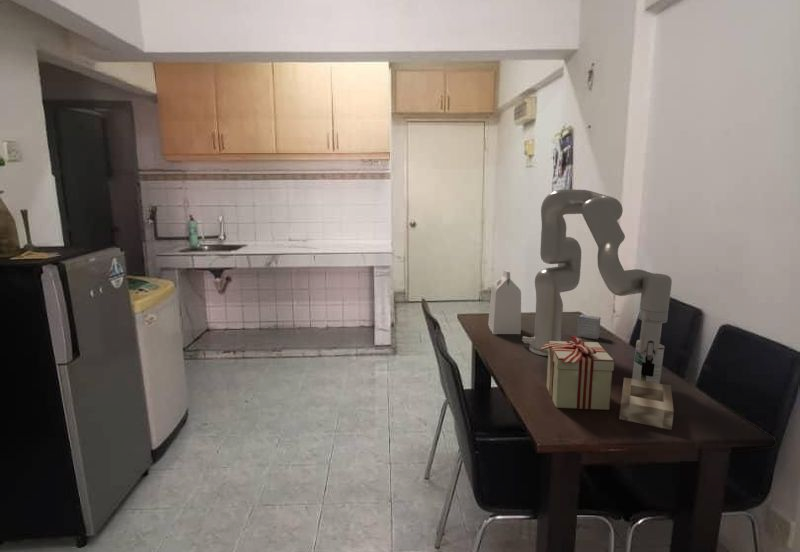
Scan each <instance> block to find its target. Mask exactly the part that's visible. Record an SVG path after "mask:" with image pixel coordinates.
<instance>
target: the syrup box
mask: <svg viewBox="0 0 800 552" xmlns="http://www.w3.org/2000/svg"><path fill="white" fill-rule="evenodd" d="M639 343H640V339H637V340H636V344H635V350H634V351H635V352H634V359H633V360H634V361H633V366H632V367H633V368H632V377H631V379H636V380H642V381H648V382H654V383H659V384H661V377H662V375H661V374H662V368H663V361H664V353H665V345H663V344H661V343H659V348H658V353H657V355H655V356H654V364H655V365H654V374H653V377H651V376H645V375H641V370H642V362H643V360H644V353H642V352H641V353H640V352H639ZM646 352H648V347H647V348H646ZM652 353H653V352H652ZM646 356H647V355H646Z"/></svg>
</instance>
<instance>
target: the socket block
mask: <svg viewBox="0 0 800 552" xmlns="http://www.w3.org/2000/svg"><path fill="white" fill-rule="evenodd" d="M621 392H622V393H621V399H620V400H621V401H620V409H619V420H623V421H626V422H633V423H638V424H642V425H645V426H646V425H647V426H651V427H656V428H660V429H664V430H670V431H672V428H673V421H674V412H675V411H674V402H673V395H672V394H673V393H672V385H670V384H665V383H663V384H662V383H660V384H659V383H654V382H648V381H642V380H636V379H632V377H631V378H630V377H623V384H622V391H621Z"/></svg>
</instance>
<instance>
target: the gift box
mask: <svg viewBox="0 0 800 552" xmlns="http://www.w3.org/2000/svg"><path fill="white" fill-rule="evenodd" d="M569 338H570V339H573V340H569V341H568V340H567V341H566V340H565V341H563V340H560V341H548V343H546V344H545V345H544V346H543V347H542V348H541V349H539V350H544V349H547V351H548V356H547V370H546V372H547V373H546V385H545V386H546V388H547V392H548V395H549V396H550V398H551V401H552V402H553V405H554V406H555V408H556V409H572V410H573V409H575V410H576V409H577V410H593V411H594V410H596V411H597V410H598V411H599V410H600V411H610V402H611V390H612V389H611V388H612V379H613V378H612V377H613V372H614V369H615V360H614V359H613V357H611V355H610V354H609V353H608V352H607V351H606V349H604V347H602V345H600V343H599V342H597V341H596V342H595V341H584V340H583V339H581V338H580V337H577V336H574V335H570V336H569Z"/></svg>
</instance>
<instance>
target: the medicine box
mask: <svg viewBox="0 0 800 552" xmlns="http://www.w3.org/2000/svg"><path fill="white" fill-rule="evenodd" d="M600 328H601V316H595V315H589V314H580V315H579V316H578V321H577V333H576V335H577V336H576V337H577V338H585V339H590V340H591V339H593V340H598V339H599V337H600V331H601V330H600Z"/></svg>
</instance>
